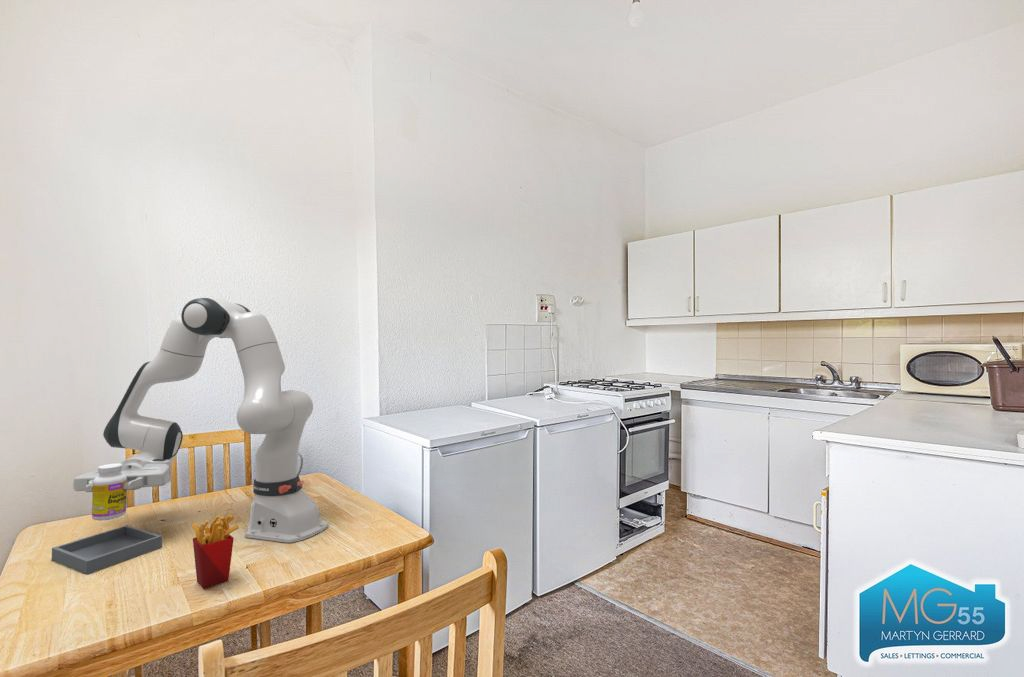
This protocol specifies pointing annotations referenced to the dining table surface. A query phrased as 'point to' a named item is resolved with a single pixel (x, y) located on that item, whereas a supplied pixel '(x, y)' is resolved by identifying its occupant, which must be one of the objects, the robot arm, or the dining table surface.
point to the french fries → (213, 551)
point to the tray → (106, 549)
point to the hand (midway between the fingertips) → (108, 487)
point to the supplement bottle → (109, 493)
